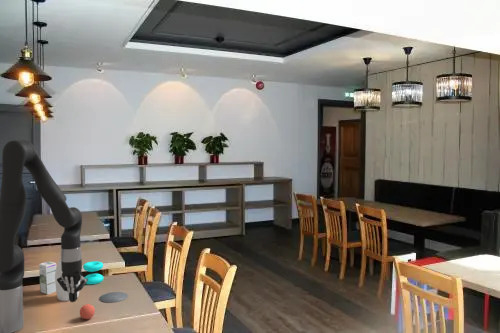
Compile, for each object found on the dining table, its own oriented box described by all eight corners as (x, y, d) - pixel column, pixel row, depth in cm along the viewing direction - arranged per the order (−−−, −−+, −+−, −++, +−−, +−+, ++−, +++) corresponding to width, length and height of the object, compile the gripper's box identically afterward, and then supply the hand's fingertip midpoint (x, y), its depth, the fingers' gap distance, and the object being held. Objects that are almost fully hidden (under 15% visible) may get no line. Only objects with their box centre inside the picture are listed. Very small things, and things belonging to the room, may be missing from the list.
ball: (81, 322, 175) (80, 308, 175) (78, 317, 180) (78, 303, 180) (96, 319, 178) (96, 305, 178) (93, 314, 183) (93, 300, 183)
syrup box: (57, 291, 211) (56, 262, 210) (46, 295, 206) (45, 265, 205) (50, 289, 214) (49, 260, 213) (39, 292, 209) (38, 263, 208)
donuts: (106, 263, 224) (87, 267, 217) (106, 282, 224) (87, 286, 218) (98, 259, 231) (80, 263, 224) (99, 277, 232) (80, 281, 225)
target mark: (102, 304, 194) (102, 304, 194) (96, 295, 205) (96, 295, 205) (131, 299, 201) (131, 298, 201) (123, 290, 212) (123, 290, 212)
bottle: (85, 294, 207) (84, 242, 206) (73, 302, 196) (72, 248, 194) (63, 293, 208) (62, 241, 207) (50, 301, 197) (49, 247, 196)
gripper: (91, 256, 170) (93, 299, 171) (63, 255, 173) (64, 296, 174) (80, 262, 163) (82, 306, 164) (50, 260, 166) (52, 303, 167)
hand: (73, 301), depth 169 cm, fingers closed
